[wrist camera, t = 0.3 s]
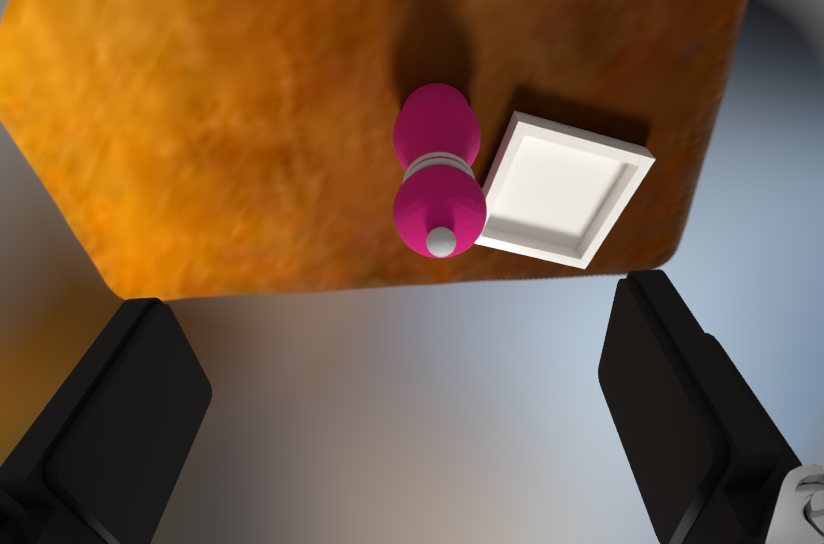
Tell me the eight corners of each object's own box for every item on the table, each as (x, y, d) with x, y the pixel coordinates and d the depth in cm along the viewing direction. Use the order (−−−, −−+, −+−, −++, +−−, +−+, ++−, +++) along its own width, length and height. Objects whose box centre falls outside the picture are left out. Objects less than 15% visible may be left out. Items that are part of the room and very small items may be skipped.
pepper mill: (383, 136, 44) (360, 273, 29) (416, 61, 40) (410, 175, 25) (452, 166, 46) (466, 311, 31) (491, 98, 42) (530, 226, 26)
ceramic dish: (514, 110, 42) (518, 121, 41) (645, 147, 44) (655, 159, 42) (466, 227, 50) (467, 241, 49) (579, 254, 52) (585, 269, 50)
